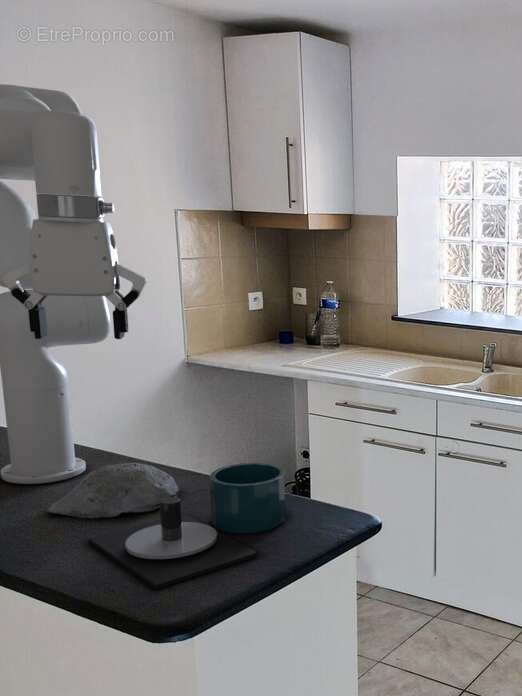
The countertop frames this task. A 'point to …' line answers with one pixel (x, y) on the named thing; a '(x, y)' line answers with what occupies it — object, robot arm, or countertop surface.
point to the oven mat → (174, 568)
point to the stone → (117, 491)
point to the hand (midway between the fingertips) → (81, 337)
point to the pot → (247, 497)
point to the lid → (171, 535)
